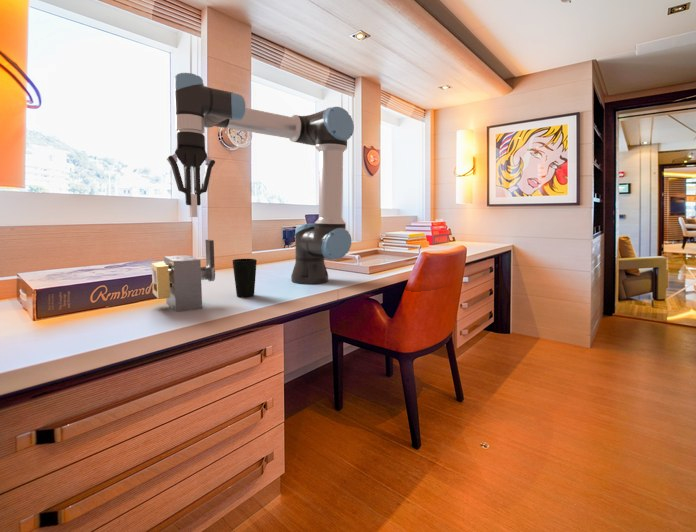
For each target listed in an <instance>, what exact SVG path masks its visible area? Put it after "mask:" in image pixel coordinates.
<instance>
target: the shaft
mask: <svg viewBox="0 0 696 532" xmlns="http://www.w3.org/2000/svg"><path fill="white" fill-rule="evenodd" d="M214 241H215V240H213V239H205V241H204V242H205V261H206V262H205V265H206V266H201V281H208V282H214V281H215V279H216V270H215V246H214V245H215V243H214ZM169 281H170V283H172V276H171V269H169ZM153 282H154V284H157V280H156V271H155V270H153ZM153 282H152V283H153Z"/></svg>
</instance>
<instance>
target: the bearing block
mask: <svg viewBox="0 0 696 532" xmlns="http://www.w3.org/2000/svg"><path fill="white" fill-rule="evenodd" d="M163 263H165V264H166V265H168V266H169V269H171V276H172V283H170V298H165V299H166V301H165V302H166V303H167V304H168V305H169V306H170V307H171V308H172V310H174V311H175V313H177V312H183V311H191V310H193V311H194V310H198V309H203V292H202V290H203V289H202V280H201V267H202V266H201V259H199V258H196V257H194V256H192V255H189V254H188V255H187V254H183V255H164V256H163Z"/></svg>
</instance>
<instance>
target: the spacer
mask: <svg viewBox="0 0 696 532" xmlns="http://www.w3.org/2000/svg"><path fill="white" fill-rule="evenodd" d="M150 264H151V278H152V279H151V280H152V294H153V295H154V296H155V297H156V298H157V299H158V300H163V299H166V298H170V281H169V266H168V265H166V264H165V263H164V261H163V262H151V263H150ZM153 270H155V271H156V280H157V284H154V282H153Z"/></svg>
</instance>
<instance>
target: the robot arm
mask: <svg viewBox="0 0 696 532" xmlns="http://www.w3.org/2000/svg"><path fill="white" fill-rule="evenodd" d="M173 78H174V80H173V81H174V82H173V84H174V86H173V97H174V107H175V131H176V134H175V138H176V149H175V150H174V154H172V155H169V156H167V157H166V160H167V162H168V163H169V165H170V166H171V170H172V174H173V176H174V181H175V184H176V188H177V189H178V191H179V192H180V193H181V192H182V193H183V194H184V196H185V197H184V198H185V205H186V206H189V217H191V218H199V217H198V206H201V205H202V204H201V202H202V201H201V195H202V194H204V193H207V192H208V187H209V183H210V179H211V174H212V169H213V167H214V165H215V164H216V161H215V160H214V159H211V158H210V157H208V154H207V152H206V137H205V135H204V134H205V133H206V132H205V129H206V128H208V129H209V128H213V127H218V128H224V129H231V130H236V131H242V132H243V131H244V132H249V133H255V134H260V135H267V136H271V137H272V136H273V137H278V138H279V137H280V138H285V139H289V141H290V142H292V143H299V144H302V145H308V146H309V145H310V146H315V149H316V150H317V151H318V152H319V155H318V157H319V158H318V159H319V164H318V165H319V166H318V167H319V168H318V169H319V170H318V175H319V176H318V179H319V180H318V219H317V220H316V221H314V223H304V224H298V225H297V226H296V227H295V232H294V237H295V239H294V240H295V241H294V242H295V246H294V247H295V248H294V249H295V264H294V266H293V270H292V273H291V278H290V279H291V282H292V283H294V284H305V285H306V284H307V285H309V284H310V285H311V284H312V285H315V284H317V285H318V284H324V283H327V282H329V273H328V270H327V267H326V263H325V259H326V260H327V259H328V260H339V259H342V258H344V257H345V256H346V255H347V254H348V253H349V251H350V249H351V246H352V237H351V234H350V233H349V231H348V230H347V229H346V223H347V222H345V221H344V219H343V172H344V171H343V170H344V169H343V165H344V163H343V162H344V161H343V160H344V152H345V151H346V150H347V149H348V140H349V139H350V138H351V137H352V136H353V134H354V130H355V126H354V125H355V124H354V121H353V118H352V116H351V115H350V113H349V112H348V111H347V110H346V109H345V108H343V107H340V106H332V107H331V106H330V107H327V108H326V109H324V110H320V111H318V112H316V113H311V114H309V115H297V114H293V115H292V116H288V115H283V114H278V113H273V112H268V111H263V110H258V109H253V108H248V107H246V101H245V98H244V96H243V95H241V94H239V93H235V92H233V91H227V90H222V89H217V88H214V87H208V86H205V85H204V80H203V78H202V77H201V76H200V75H197V74H196V73H192V72H180V73H177V74H176V75H175V76H174V77H173ZM178 160H179V162H180V163H181V164H182V165H183V175H184V176H183V177H184V178H183V179H184V183H183V179H182V175H181V172H180V170H179V165H178ZM204 162H205V163H204ZM203 163H204V164H205V168H204V173H203V178H202V181H201V166H202V164H203ZM191 168H192V169H191ZM191 171H193V191H194V193H193V194H192V178H191V177H192V176H191Z"/></svg>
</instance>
